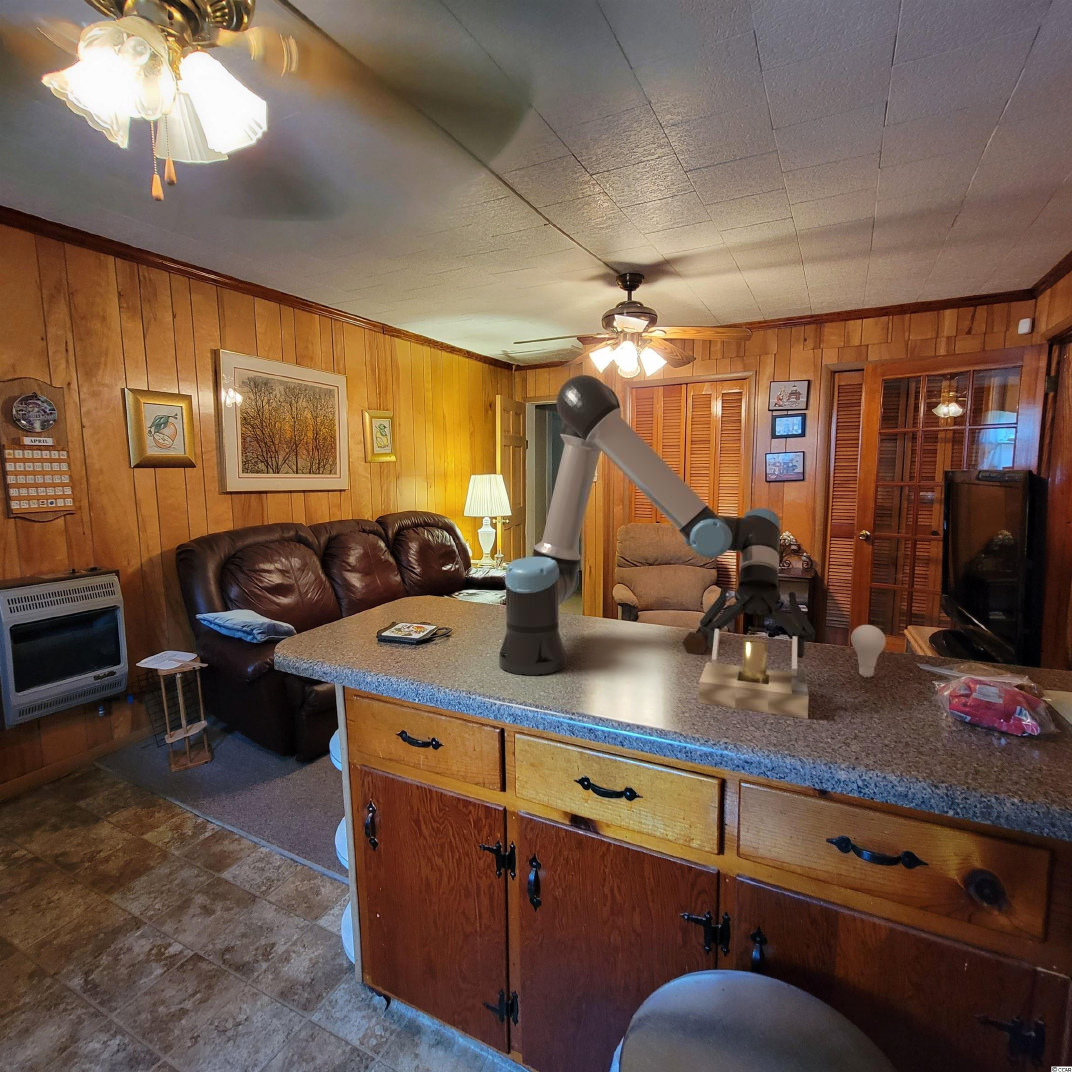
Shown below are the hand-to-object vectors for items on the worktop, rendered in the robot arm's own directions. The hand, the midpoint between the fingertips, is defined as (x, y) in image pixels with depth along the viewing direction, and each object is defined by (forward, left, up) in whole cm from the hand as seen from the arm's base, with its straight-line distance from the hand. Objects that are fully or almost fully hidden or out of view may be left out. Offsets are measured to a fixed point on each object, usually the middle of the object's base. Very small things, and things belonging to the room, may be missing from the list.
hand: (753, 667), depth 100 cm
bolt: (-13, +33, -7) cm, 36 cm away
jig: (0, +2, -7) cm, 7 cm away
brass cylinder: (0, +2, -7) cm, 7 cm away
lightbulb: (+21, +23, -7) cm, 32 cm away
